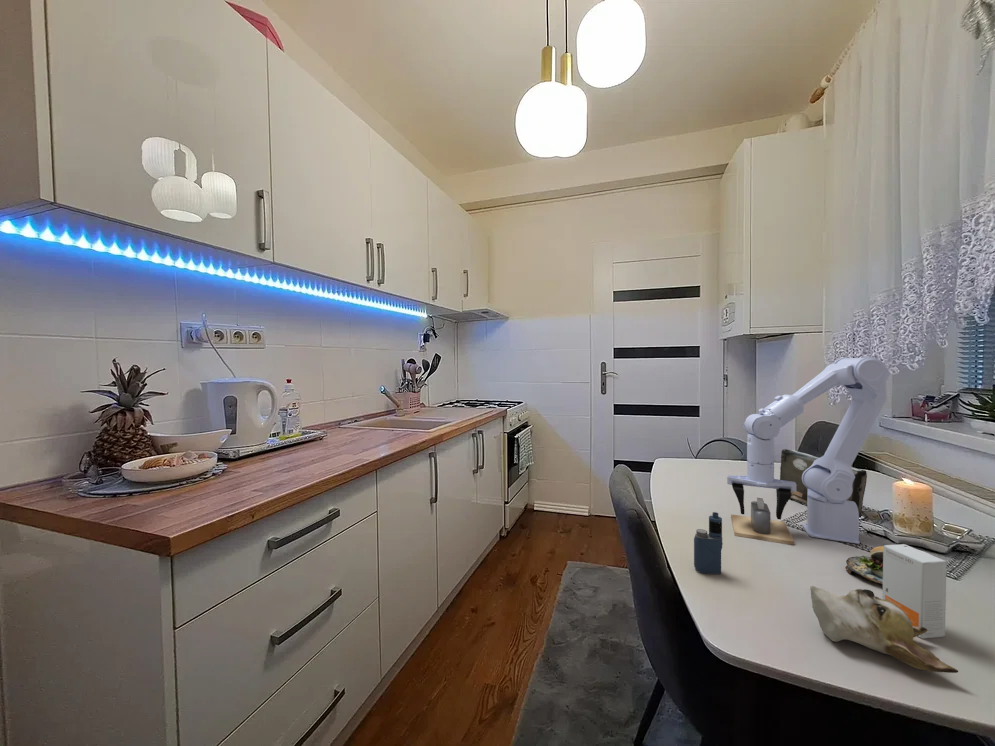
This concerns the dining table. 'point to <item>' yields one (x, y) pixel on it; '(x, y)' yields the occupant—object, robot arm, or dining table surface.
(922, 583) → the skincare box
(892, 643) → the ceramic sculpture
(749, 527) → the oak board
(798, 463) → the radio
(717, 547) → the vaping device
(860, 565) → the burger
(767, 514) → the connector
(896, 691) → the dining table surface
